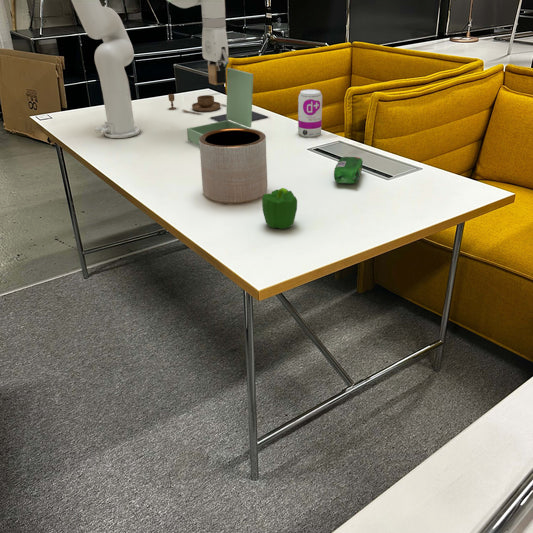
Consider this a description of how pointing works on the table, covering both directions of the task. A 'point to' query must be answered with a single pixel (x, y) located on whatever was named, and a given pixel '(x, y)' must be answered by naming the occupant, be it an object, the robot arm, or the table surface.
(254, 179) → the planter
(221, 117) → the mat
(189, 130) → the lunchbox
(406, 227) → the table surface
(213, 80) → the block
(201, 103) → the place setting
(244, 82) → the lid
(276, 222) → the bell pepper
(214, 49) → the robot arm
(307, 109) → the supplement can
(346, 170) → the snack package
